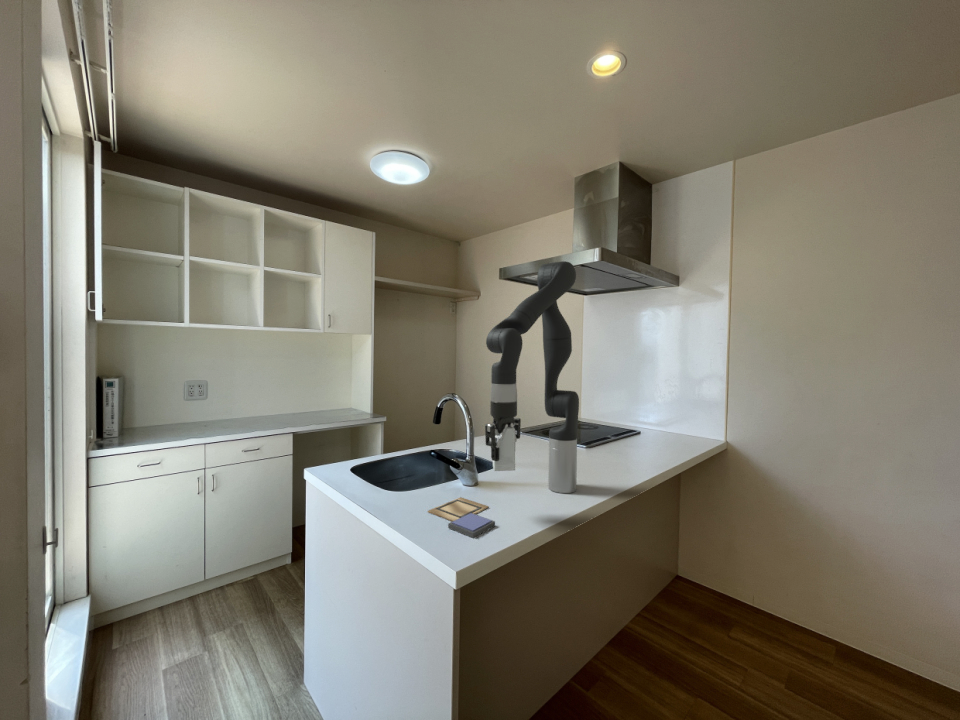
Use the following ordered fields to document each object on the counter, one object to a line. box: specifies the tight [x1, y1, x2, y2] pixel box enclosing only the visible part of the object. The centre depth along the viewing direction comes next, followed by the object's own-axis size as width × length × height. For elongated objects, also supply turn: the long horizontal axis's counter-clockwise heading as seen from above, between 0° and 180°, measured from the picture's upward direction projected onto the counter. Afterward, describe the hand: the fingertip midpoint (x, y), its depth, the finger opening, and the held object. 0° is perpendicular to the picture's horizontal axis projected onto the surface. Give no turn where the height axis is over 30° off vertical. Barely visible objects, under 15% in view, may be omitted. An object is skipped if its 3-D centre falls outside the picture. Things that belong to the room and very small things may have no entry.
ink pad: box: [447, 513, 496, 539], centre depth 102 cm, size 9×8×2 cm
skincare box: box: [492, 427, 516, 472], centre depth 110 cm, size 6×4×12 cm
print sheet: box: [427, 496, 490, 522], centre depth 113 cm, size 14×11×1 cm
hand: (503, 457), depth 110 cm, fingers closed on skincare box, 7 cm apart
